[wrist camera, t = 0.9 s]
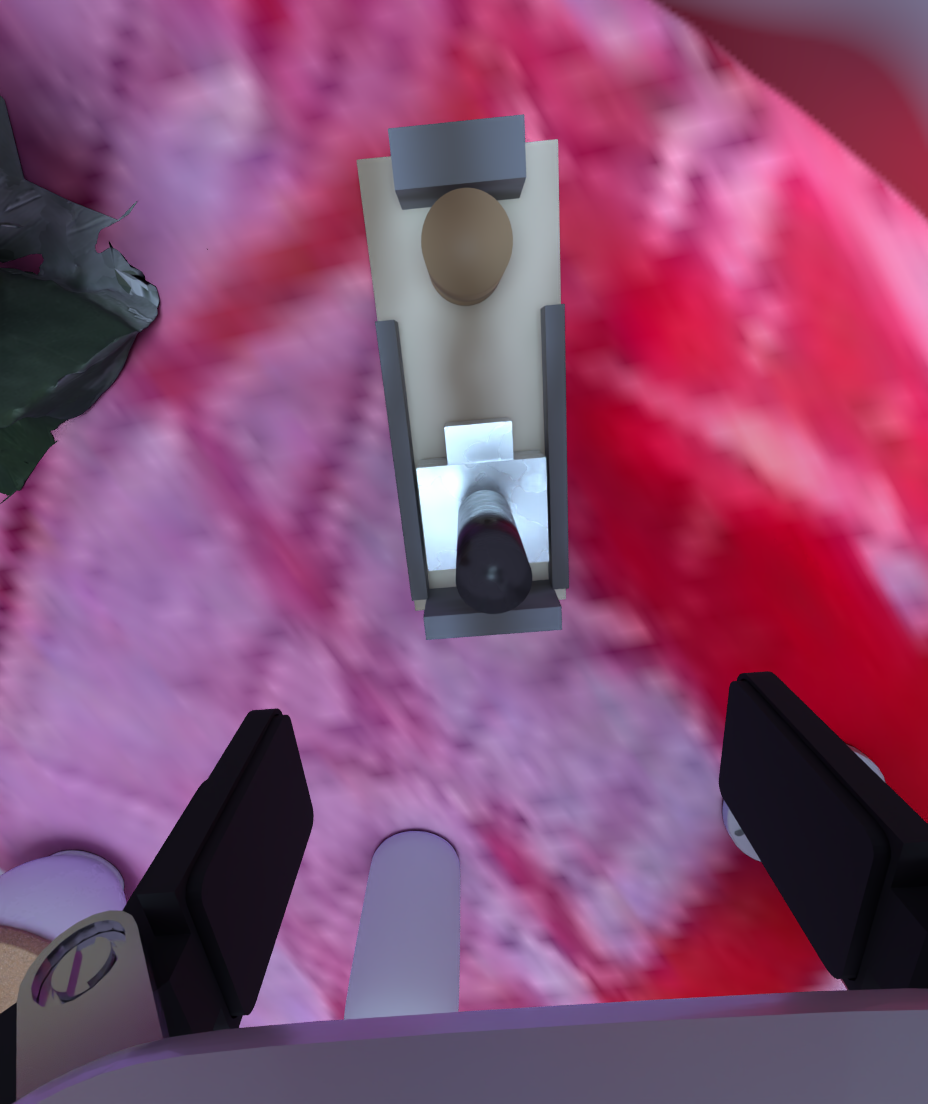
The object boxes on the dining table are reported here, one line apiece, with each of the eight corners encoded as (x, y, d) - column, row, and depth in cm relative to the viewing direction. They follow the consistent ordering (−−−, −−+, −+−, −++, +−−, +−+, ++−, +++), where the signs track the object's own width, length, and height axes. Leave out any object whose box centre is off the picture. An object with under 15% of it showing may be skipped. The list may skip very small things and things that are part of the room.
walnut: (500, 216, 26) (510, 182, 21) (505, 302, 27) (515, 289, 23) (423, 224, 26) (415, 192, 21) (431, 309, 27) (426, 297, 23)
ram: (537, 414, 29) (583, 442, 18) (541, 545, 32) (584, 640, 21) (416, 425, 29) (387, 459, 18) (431, 554, 32) (413, 652, 21)
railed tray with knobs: (551, 155, 27) (574, 97, 21) (560, 586, 35) (578, 628, 30) (363, 174, 27) (337, 122, 21) (418, 597, 35) (409, 641, 30)
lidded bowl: (11, 810, 42) (-137, 955, 32) (163, 846, 43) (70, 995, 33) (7, 910, 46) (-125, 1067, 36) (147, 939, 48) (58, 1099, 37)
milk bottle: (364, 831, 43) (287, 1192, 24) (454, 823, 43) (447, 1181, 24) (380, 895, 46) (322, 1265, 27) (465, 887, 45) (467, 1256, 26)
